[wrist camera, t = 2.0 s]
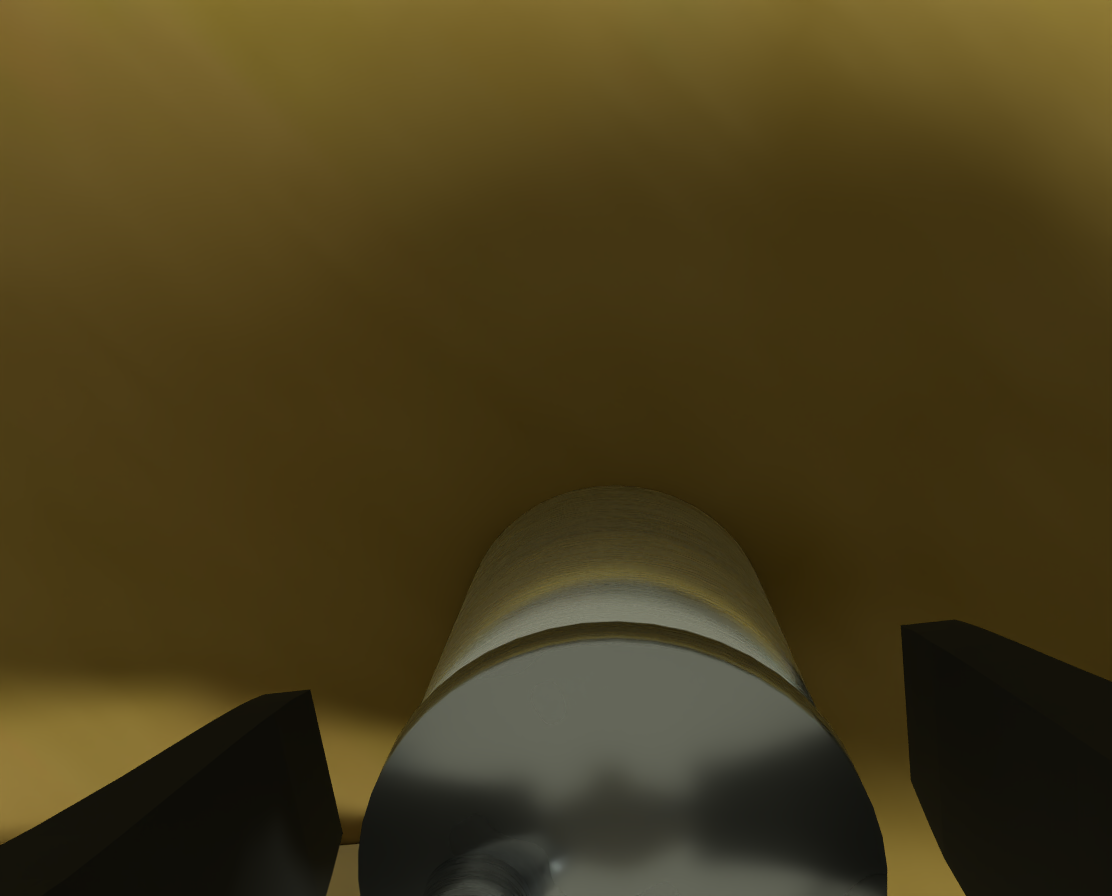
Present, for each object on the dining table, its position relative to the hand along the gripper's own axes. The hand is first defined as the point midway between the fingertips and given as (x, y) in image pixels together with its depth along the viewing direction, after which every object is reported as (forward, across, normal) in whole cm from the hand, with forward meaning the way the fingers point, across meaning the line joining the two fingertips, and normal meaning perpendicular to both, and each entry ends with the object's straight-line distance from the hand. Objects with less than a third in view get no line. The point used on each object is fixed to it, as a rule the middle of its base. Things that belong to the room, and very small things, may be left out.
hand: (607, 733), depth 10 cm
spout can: (+3, 0, 0) cm, 3 cm away
